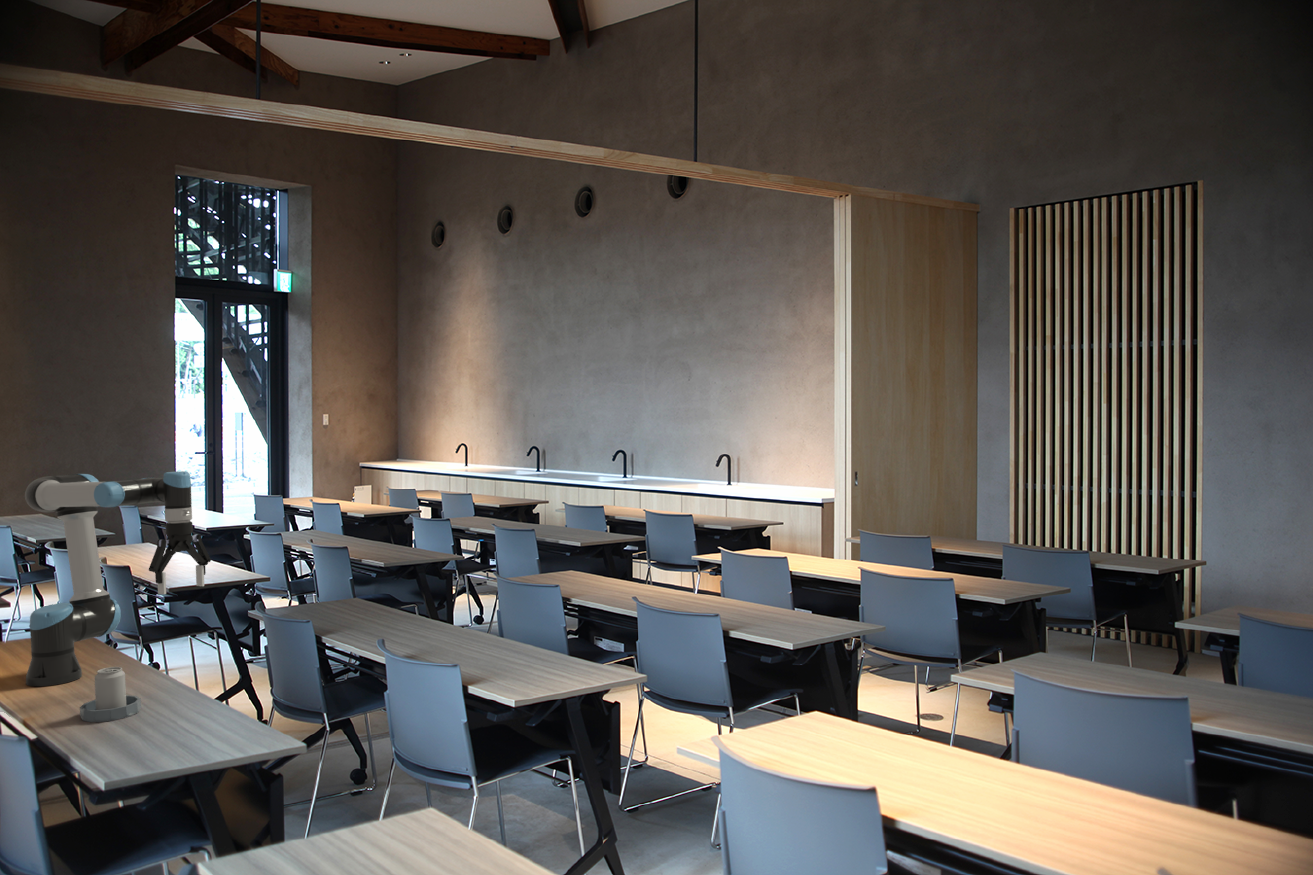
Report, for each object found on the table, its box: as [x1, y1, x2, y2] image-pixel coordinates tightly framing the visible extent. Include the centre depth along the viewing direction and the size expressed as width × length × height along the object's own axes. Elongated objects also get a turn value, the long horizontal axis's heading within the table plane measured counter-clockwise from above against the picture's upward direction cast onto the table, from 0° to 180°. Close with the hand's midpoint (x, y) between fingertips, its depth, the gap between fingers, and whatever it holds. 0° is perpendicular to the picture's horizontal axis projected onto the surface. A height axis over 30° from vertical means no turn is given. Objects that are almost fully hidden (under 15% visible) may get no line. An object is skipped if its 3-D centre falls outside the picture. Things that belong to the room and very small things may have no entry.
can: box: [94, 666, 127, 710], centre depth 276 cm, size 8×8×12 cm
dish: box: [79, 694, 142, 723], centre depth 276 cm, size 14×14×3 cm
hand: (181, 589), depth 307 cm, fingers open, 13 cm apart
